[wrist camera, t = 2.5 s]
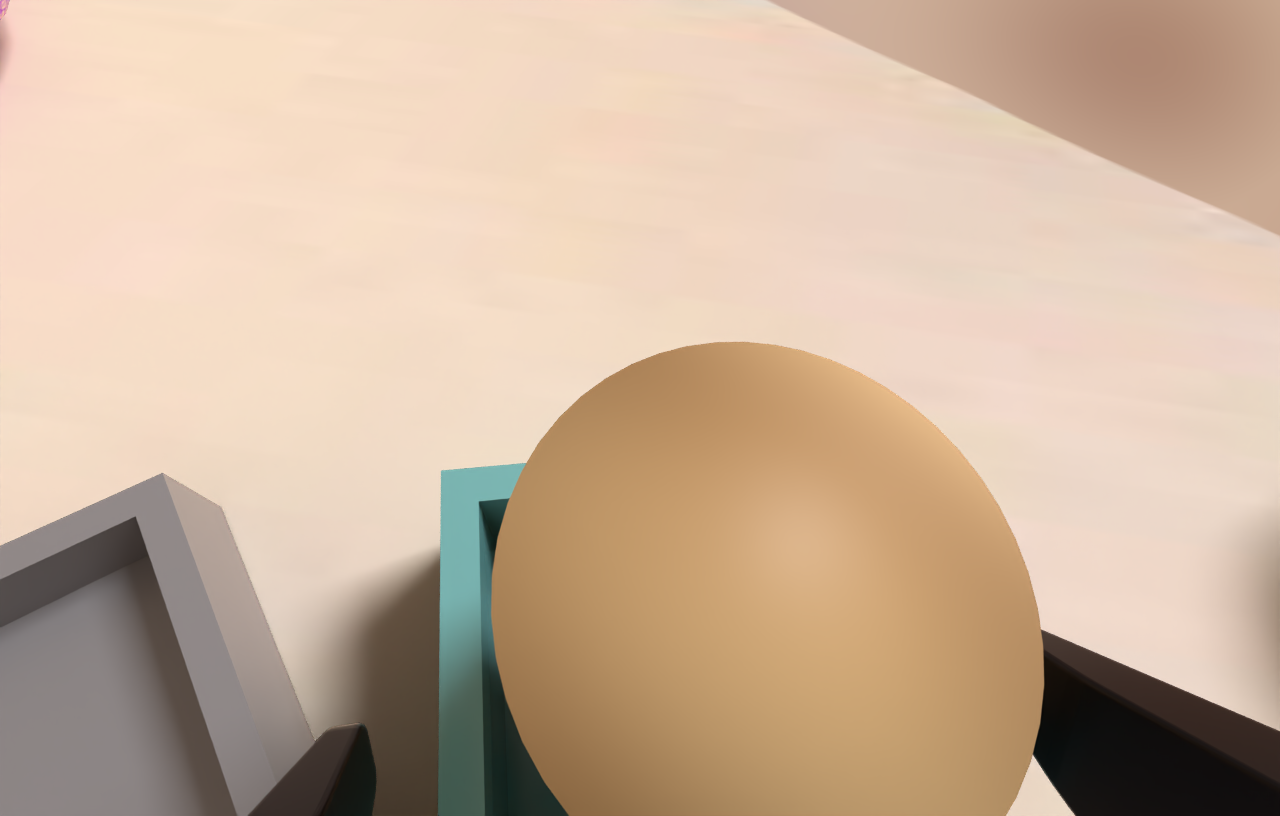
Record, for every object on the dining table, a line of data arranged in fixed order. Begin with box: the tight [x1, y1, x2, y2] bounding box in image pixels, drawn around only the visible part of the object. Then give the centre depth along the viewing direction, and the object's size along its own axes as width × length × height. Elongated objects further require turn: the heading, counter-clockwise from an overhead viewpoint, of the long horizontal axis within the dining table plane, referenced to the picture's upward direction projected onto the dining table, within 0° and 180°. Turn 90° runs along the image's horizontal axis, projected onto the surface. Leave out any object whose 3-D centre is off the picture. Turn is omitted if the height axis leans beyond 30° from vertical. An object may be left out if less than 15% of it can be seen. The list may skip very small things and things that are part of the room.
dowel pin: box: [491, 342, 1044, 816], centre depth 11 cm, size 5×5×12 cm
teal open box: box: [438, 463, 569, 816], centre depth 14 cm, size 9×9×5 cm
